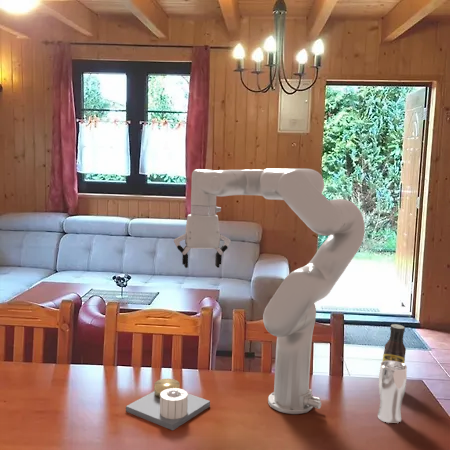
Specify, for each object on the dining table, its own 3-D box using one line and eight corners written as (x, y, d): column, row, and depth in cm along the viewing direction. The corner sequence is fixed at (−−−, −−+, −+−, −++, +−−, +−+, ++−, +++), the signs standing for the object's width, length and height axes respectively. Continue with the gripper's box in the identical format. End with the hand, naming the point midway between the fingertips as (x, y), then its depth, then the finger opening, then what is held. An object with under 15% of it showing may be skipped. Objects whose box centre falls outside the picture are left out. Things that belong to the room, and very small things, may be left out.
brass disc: (184, 393, 150) (184, 383, 150) (168, 402, 144) (168, 391, 144) (165, 386, 154) (165, 376, 153) (149, 395, 148) (149, 384, 148)
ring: (192, 411, 140) (192, 393, 139) (175, 421, 134) (176, 403, 133) (171, 403, 144) (172, 385, 143) (154, 413, 138) (154, 395, 137)
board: (209, 406, 146) (210, 401, 146) (172, 430, 133) (172, 424, 133) (165, 390, 155) (165, 385, 155) (126, 411, 142) (126, 406, 141)
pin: (179, 411, 139) (180, 392, 138) (173, 415, 137) (174, 395, 136) (172, 409, 141) (172, 389, 140) (166, 412, 139) (167, 392, 138)
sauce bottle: (378, 391, 159) (383, 327, 156) (380, 383, 165) (385, 321, 162) (401, 395, 156) (407, 330, 154) (402, 387, 162) (408, 324, 159)
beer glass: (389, 427, 138) (393, 372, 136) (370, 414, 144) (374, 362, 142) (408, 421, 141) (413, 367, 139) (389, 409, 148) (393, 358, 145)
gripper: (229, 209, 165) (227, 263, 167) (173, 209, 161) (172, 264, 164) (234, 212, 157) (232, 269, 160) (175, 212, 154) (174, 269, 156)
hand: (201, 266), depth 162 cm, fingers open, 9 cm apart
